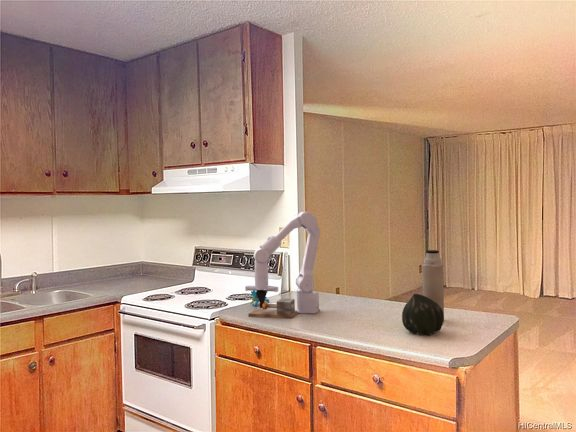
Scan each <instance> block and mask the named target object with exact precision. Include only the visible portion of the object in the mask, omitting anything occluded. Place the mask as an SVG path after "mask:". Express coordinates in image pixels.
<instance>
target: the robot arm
mask: <svg viewBox="0 0 576 432" xmlns="http://www.w3.org/2000/svg"><path fill="white" fill-rule="evenodd" d="M298 228H304V229H305V232H306V233H307V239H306V244H305V249H304V254H303V260H302V265H301V269H300V270H299V273H298V276H297V278H296V279H295V284H296V287H297V289H296V304H297V305H296V308H297V309H296V310H297V311H298V313H297V314H317V313H318V312H319V310H320V297H319V292H318V291H314V287H315V282H314V267H315V266H314V265H315V261H316V258H317V257H316V256H317V252H318V251H317V250H318V247H319V246H318V245H319V240H320V236H321V230H320V227H319V224H318V222H317V218H316V216H315V215H314V214H313V213H312V212H310V211H304V210H303V211H302V210H301V211H299V212H298V213H297V215H295V216H293V217H292V218H291V219H289V221H287V223H286V224H285V226H283V228H281V230H280V231H279V232H278V233H277V234H276V235H271V236H267V238H266V239H267V240H266V241H265V242H264V243H263V244H262V245H261V244H260V245H259V246H258V247H259V248H257V249H256V250H255V251H253V252H254V253H253V255H252V257H253V259H254V285H245V287H244V289H245V292H248V291H257V292H256V295H257V297H258V299H259V301H260V302H259V309H263V308H262V304H263V301H264V299H265V296H266V297H267V294H268V292H274V293H277V292H279V286H276V285H274V286H273V285H269V266H268V261H269V258H270V256H271V255H273V254H274V253H275V252H276V251H277V250H278V248H280V247H281V245H282V240H284V239H285V238H286V237H287V236H288V235H289V234H291V232H292V231H294V229H295V230H296V229H298Z"/></svg>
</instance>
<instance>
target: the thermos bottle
mask: <svg viewBox="0 0 576 432" xmlns="http://www.w3.org/2000/svg"><path fill="white" fill-rule="evenodd" d="M439 253H440V251H439V250H437V249H428V250H426V251H425V254H426V255H425V258H424V259H423V263H422V264H421V267H422V268H421V269H422V272H421V273H422V295H423V296H425V297H428V298H430V299H431V300H433V301H434V302H436V303H437V304H438V305H439V306H440V307H441V308H442V311H443V314H444V315H445V303H444V302H445V301H444V299H445V296H444V295H445V294H444V289H445V288H444V287H445V285H444V264H442V258H440V254H439Z"/></svg>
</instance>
